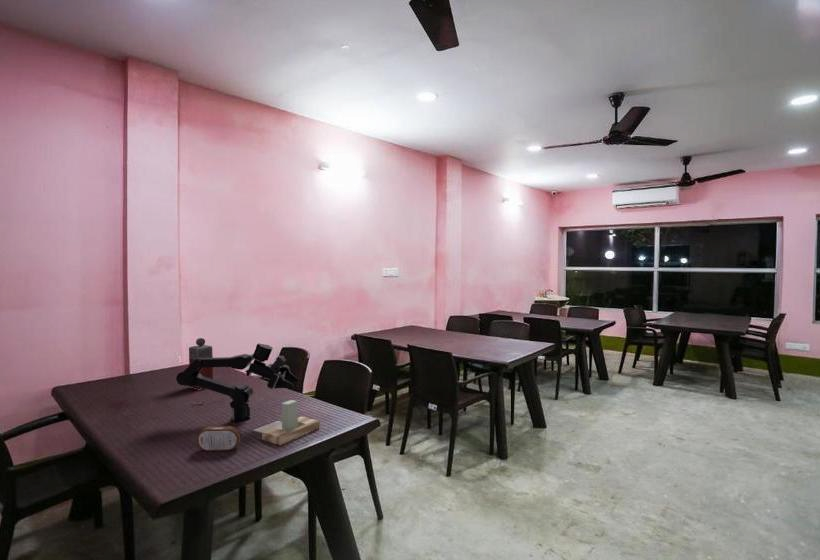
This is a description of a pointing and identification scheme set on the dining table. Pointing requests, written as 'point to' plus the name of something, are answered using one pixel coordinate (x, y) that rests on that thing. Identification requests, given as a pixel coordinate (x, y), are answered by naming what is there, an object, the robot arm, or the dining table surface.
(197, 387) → the glass decanter
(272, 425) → the mat
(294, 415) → the mint green pillar
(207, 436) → the tin
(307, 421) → the stand
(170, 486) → the dining table surface
